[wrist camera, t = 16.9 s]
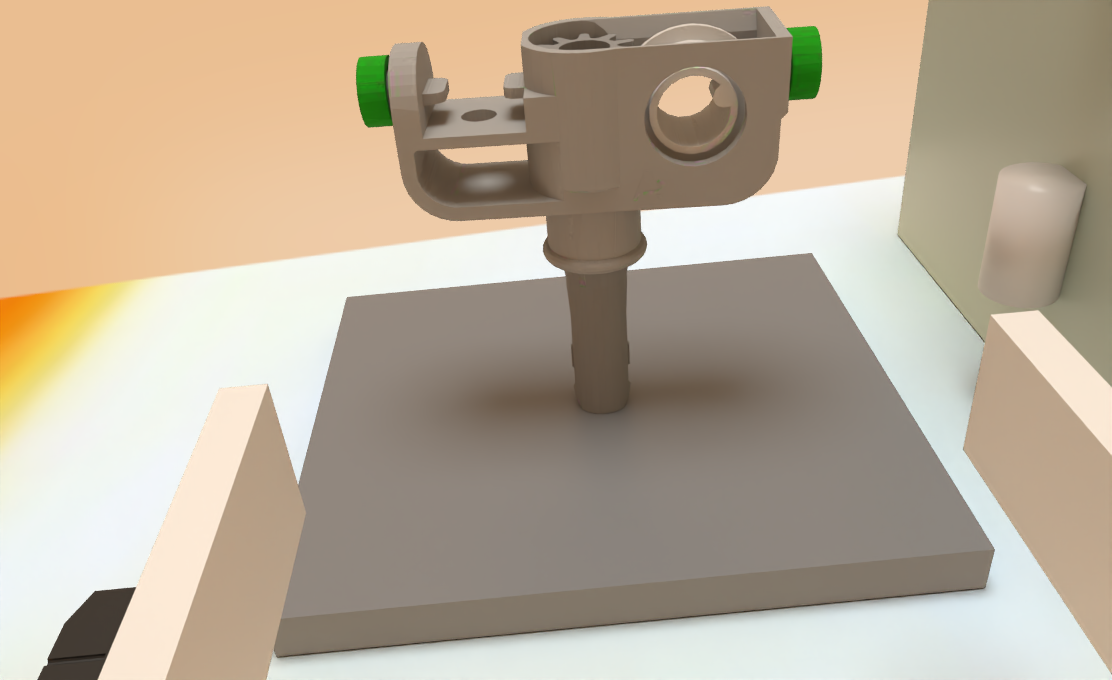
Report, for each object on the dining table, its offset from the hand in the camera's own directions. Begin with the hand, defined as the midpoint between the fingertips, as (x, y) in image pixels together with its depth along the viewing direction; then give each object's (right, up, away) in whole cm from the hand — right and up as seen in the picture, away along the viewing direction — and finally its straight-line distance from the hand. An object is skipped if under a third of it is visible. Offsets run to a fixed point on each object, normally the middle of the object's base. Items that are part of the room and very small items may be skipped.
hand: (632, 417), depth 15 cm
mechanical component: (0, 0, +11) cm, 11 cm away
